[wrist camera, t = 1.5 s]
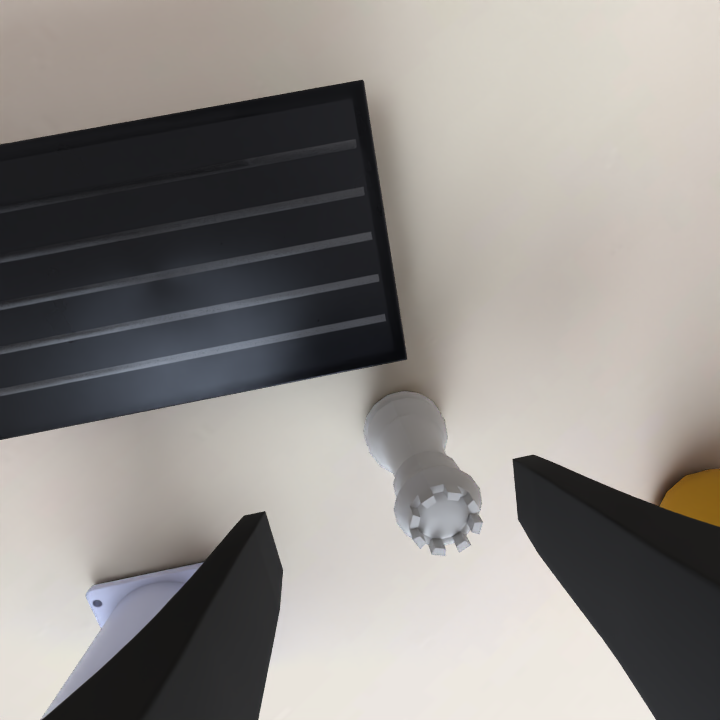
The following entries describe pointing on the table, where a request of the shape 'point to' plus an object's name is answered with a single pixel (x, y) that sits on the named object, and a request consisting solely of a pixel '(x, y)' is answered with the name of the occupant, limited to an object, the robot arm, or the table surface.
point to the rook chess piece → (423, 472)
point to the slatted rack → (192, 258)
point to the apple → (696, 496)
